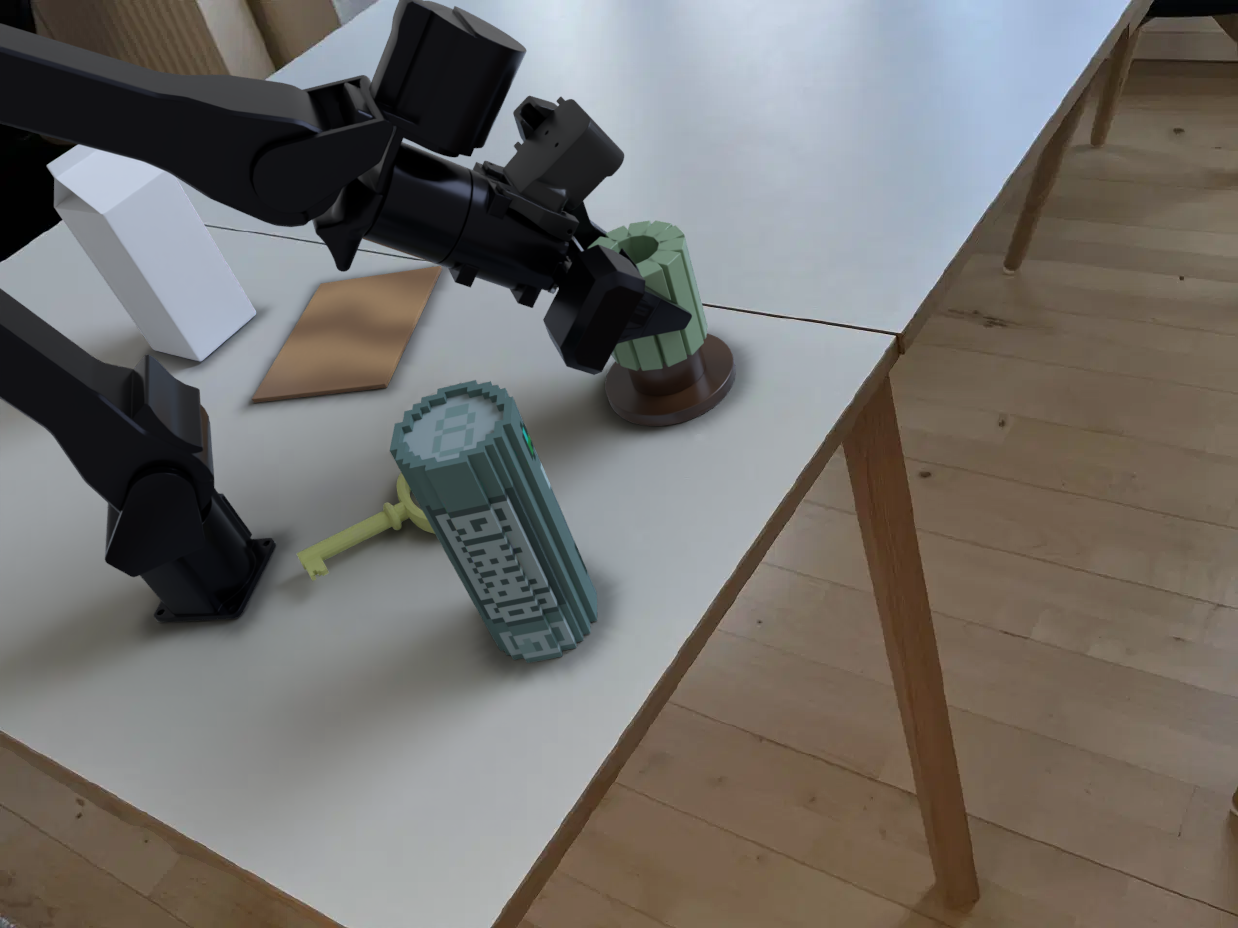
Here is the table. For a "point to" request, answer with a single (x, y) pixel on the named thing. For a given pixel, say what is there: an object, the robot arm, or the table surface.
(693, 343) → the ring
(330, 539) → the key
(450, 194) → the robot arm
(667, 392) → the ring holder
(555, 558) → the can
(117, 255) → the milk carton
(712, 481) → the table surface
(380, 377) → the cork mat
